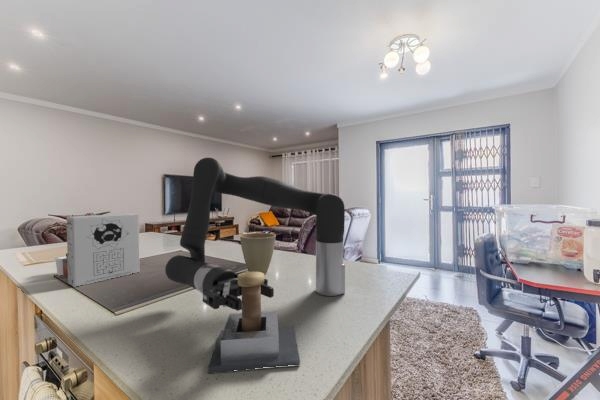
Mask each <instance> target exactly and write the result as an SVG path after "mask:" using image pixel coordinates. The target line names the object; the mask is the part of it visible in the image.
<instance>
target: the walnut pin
mask: <svg viewBox="0 0 600 400" xmlns="http://www.w3.org/2000/svg"><path fill="white" fill-rule="evenodd" d="M237 276H238V285H239V286H242V295H241V301H242V309H241V313H242V332H252V331H261V312H262V311H261V310H262V307H261V306H262V305H261V304H262V303H261V299H262V298H261V297H262V296H261V295H262V294H261V285H262V284H263V283H264V279H265V274H264V273H262V272H248V271H244V272H241V273H238V274H237Z"/></svg>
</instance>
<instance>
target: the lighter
mask: <svg viewBox="0 0 600 400" xmlns="http://www.w3.org/2000/svg"><path fill="white" fill-rule="evenodd" d="M65 256H66V257H67V252H66V253H65ZM62 261H63V276H62V279H68V257H67V258H65V259H62Z"/></svg>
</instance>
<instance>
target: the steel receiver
mask: <svg viewBox="0 0 600 400" xmlns="http://www.w3.org/2000/svg"><path fill="white" fill-rule="evenodd" d="M278 321H279V320H278V311H275V310H274V311H261V331H252V332H242V312H239V313H229V315H228V318H227V321H226V323H225V326H224V329H222V330H220V332H219V336H218V339H217V341H216V344H215V347H214V348H213V349H214V350H213V353H212V356H211V358H210V361H209V364H208V367H207V373H208V374H213V373H212V372H221V373H226V372H225V371H233V372H235V371H234V370H246V369H255V368H263V367H276V366H288V365H300V366H301V364H300V363H301V360H300V354H299V348H298V343H297V337H296V331H295V327H294V325H289V326H287V325H286V326H279V322H278ZM223 371H224V372H223ZM246 371H247V370H246Z"/></svg>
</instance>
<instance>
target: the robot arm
mask: <svg viewBox="0 0 600 400" xmlns="http://www.w3.org/2000/svg"><path fill="white" fill-rule="evenodd" d="M192 176H193V177H192V186H191V193H190V200H189V207H188V210H187V215H186V219H185V223H184V226H183V230H182V233H181V237H180V241H179V246H180V247H182V248H183V249H185V250H187V251H188V252H189V254H190V256H184V255H179V254H178V255H175V256H172V257H171V258H170V259H169V260H168V261H167V263H166V264H165V269H164V271H165V276H166V277H167V278H168V279H169V280H170V281H172V282H175V283H179V284H183V285H186V286H188V287H192V288H193V289H195V290H197V291H198V292H200V293H201V294H202V302H203V303H204V304H205V305H207V306H208V307H210V308H212V309H213V310H218V309H220V306H222V307H223V308H230V309H232V310H235V311H237V312H239V311H242V298H239V297H242V286H239V285H238V274H237V273H236V272H235V271H234V270H232V269H230V268H227V267H223V266H221V265H216V264H211V263H208V262H206V255H205V254H206V252H205V251H206V249H205V247H206V246H205V245H206V239H207V237H208V230H209V225H210V216H211V215H210V214H211V202H212V201H211V200H212V196H213V193H216V194H223V195H229V196H234V197H238V198H242V199H244V200H249V201H252V202H256V203H259V204H263V205H267V206H271V207H275V208H281V209H289V210H290V209H291V210H299V211H302V212H306V213H309V214H312V215H315V217H316V218H315V222H316V225H315V227H316V228H315V229H316V230H315V292H316V293H317V294H318V295H321V296H326V297H336V296H339V295H343V294H346V265H345V264H344V235H345V221H346V220H345V219H346V217H345V213H346V212H345V211H346V210H345V203H344V201H343V199H342V198H341V197H340V196H339V195H337V194H334V193H325V192H323V193H322V192H317V191H312V190H311V191H310V190H306V189H304V188H303V189H302V188H301V187H298V186H296V185H293V184H291V183H289V182H285V181H283V180H280V179H276V178H272V177H268V176H264V175H263V176H260V175H259V176H249V177H248V176H247V177H242V176H237V175H233V174H230V173H227V172H225V171H224V169H223V166H222V165H221V164H220V162H219V161H218V160H217V159H215V158H213V157H203V158H201V159H200V160H198V161H197V162H196V164H195V165H194V168H193V175H192ZM268 283H269V281H268V279H266V278H264V283H263V284H262V285H261V295H262V296H264V297H267V298H269V299H271V298H273V297H274V295H275V294H274V291H275V290H274V287H273V286H270V285H268Z"/></svg>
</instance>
